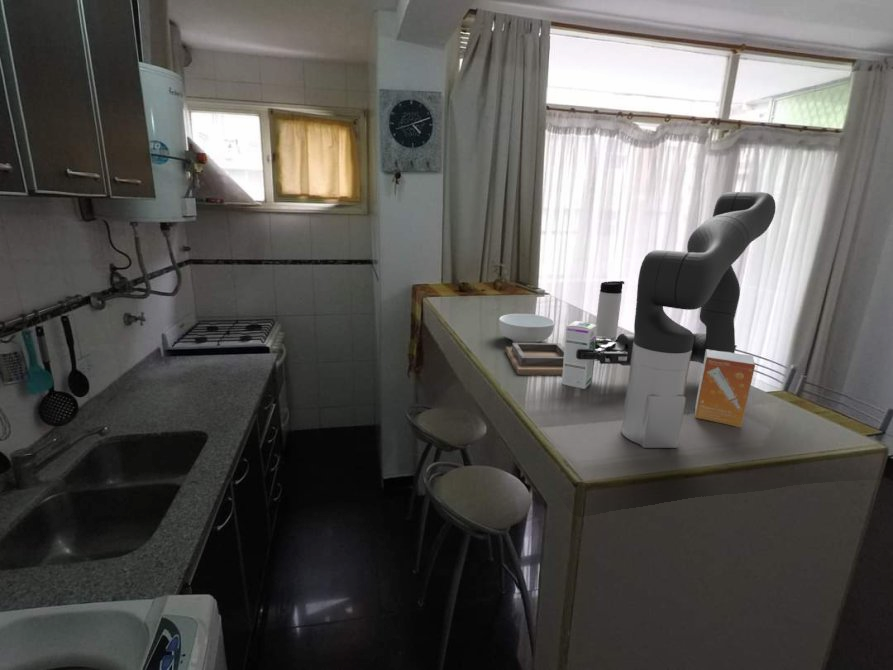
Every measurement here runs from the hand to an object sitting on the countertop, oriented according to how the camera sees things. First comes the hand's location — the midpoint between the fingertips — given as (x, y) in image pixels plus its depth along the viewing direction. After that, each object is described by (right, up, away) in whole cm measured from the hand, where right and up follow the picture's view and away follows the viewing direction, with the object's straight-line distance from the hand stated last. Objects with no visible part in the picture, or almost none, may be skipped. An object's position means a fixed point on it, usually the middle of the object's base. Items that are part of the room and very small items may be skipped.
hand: (571, 348), depth 105 cm
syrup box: (+2, -8, +2) cm, 9 cm away
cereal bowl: (-4, +1, +37) cm, 37 cm away
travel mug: (+20, 0, +34) cm, 39 cm away
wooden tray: (-4, -4, +17) cm, 17 cm away
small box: (+25, -14, -14) cm, 32 cm away
